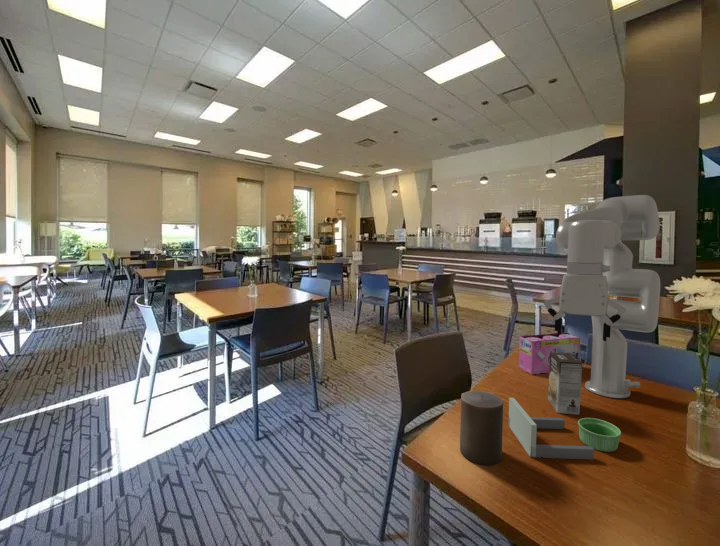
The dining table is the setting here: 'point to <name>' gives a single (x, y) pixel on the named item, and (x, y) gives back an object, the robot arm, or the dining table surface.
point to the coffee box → (565, 383)
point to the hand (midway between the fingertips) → (581, 336)
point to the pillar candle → (481, 427)
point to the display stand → (526, 435)
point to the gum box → (545, 350)
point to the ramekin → (599, 434)
